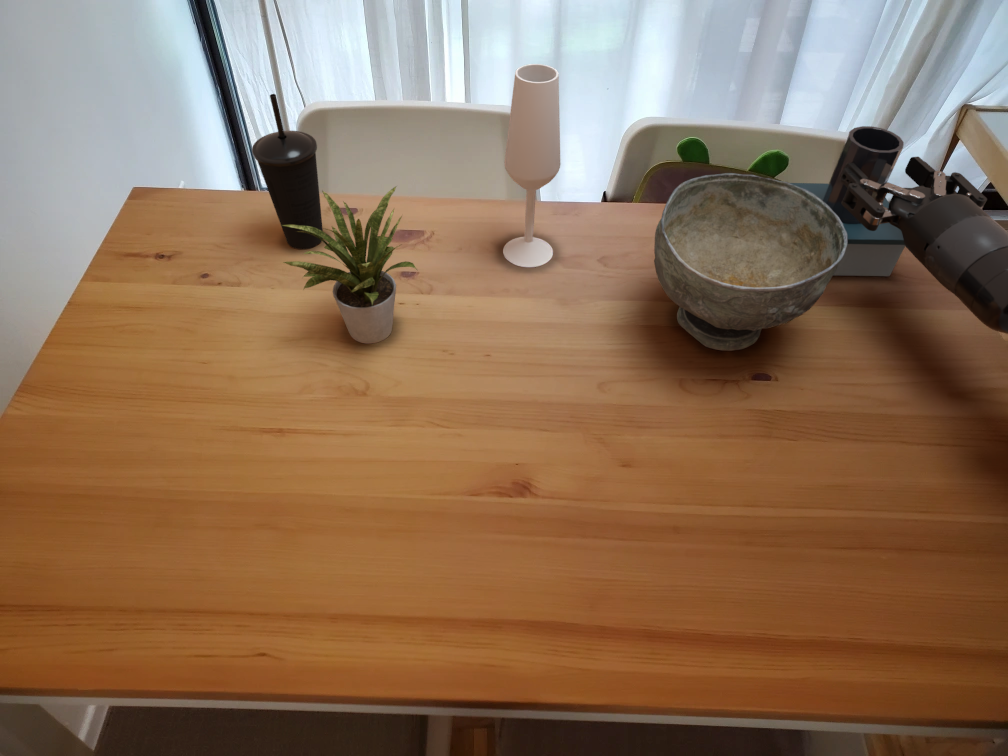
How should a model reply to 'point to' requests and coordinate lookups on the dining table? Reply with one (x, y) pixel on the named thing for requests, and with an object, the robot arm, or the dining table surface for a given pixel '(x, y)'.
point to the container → (865, 244)
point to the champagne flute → (533, 152)
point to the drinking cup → (291, 180)
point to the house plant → (358, 272)
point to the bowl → (744, 255)
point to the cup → (863, 164)
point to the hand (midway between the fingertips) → (878, 166)
